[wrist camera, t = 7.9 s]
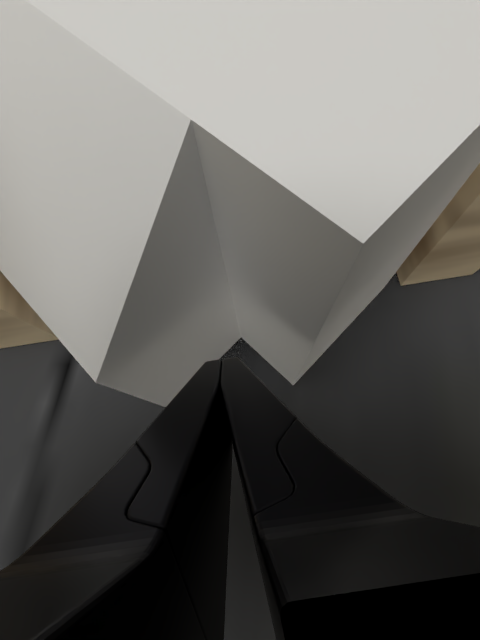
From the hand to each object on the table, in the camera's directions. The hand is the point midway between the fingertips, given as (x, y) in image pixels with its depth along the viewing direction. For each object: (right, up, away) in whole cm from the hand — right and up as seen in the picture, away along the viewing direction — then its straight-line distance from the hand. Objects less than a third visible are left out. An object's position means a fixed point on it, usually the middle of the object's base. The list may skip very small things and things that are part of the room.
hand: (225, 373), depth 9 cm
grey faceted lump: (0, +2, +9) cm, 9 cm away
